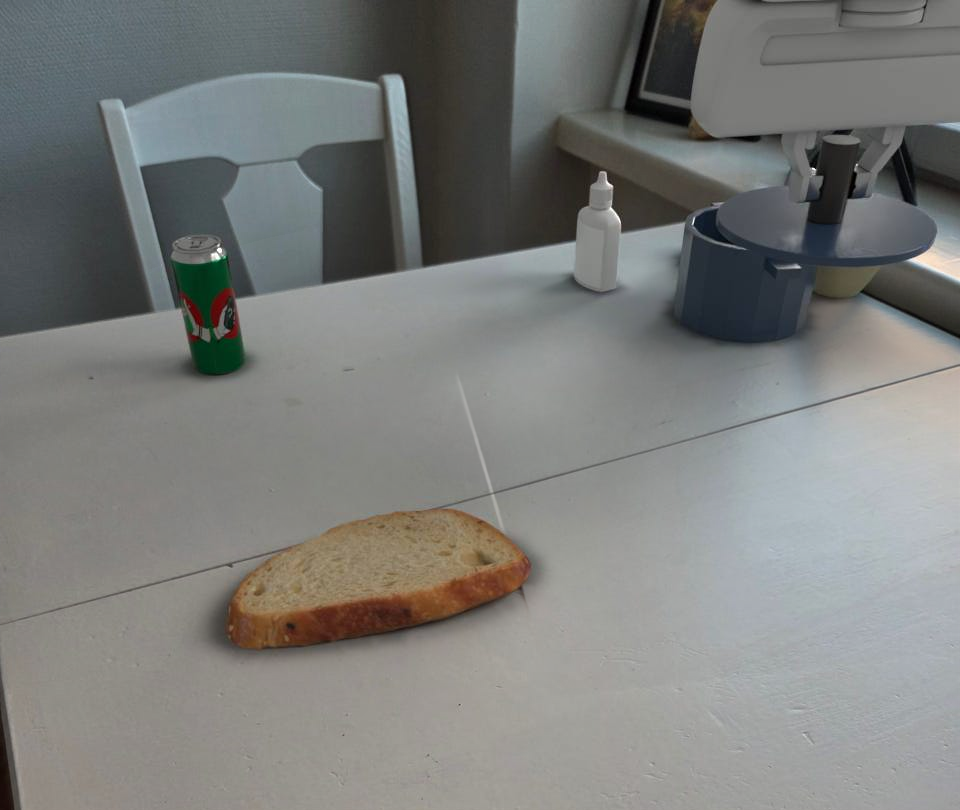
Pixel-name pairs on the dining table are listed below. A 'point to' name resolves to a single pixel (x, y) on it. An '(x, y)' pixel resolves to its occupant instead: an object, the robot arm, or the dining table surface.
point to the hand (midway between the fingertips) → (828, 198)
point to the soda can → (208, 304)
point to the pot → (737, 287)
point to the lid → (828, 219)
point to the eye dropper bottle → (598, 239)
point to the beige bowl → (843, 280)
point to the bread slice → (375, 579)
